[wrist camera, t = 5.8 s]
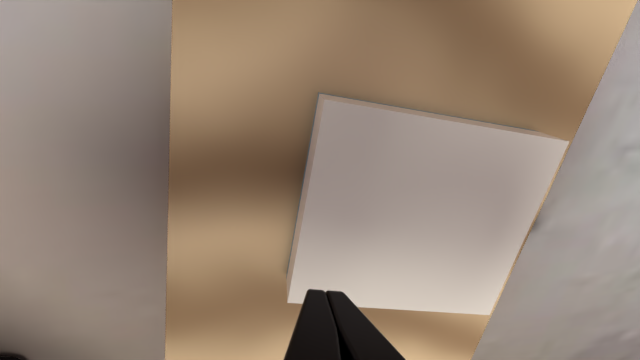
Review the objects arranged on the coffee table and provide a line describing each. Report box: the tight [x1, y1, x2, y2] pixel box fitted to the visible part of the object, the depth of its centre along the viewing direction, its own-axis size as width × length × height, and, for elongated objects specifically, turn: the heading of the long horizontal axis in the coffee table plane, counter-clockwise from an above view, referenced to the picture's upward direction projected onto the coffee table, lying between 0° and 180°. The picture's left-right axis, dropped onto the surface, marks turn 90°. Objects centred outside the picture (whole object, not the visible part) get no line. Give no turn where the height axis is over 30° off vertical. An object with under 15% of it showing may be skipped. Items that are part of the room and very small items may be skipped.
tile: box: [286, 92, 569, 315], centre depth 13 cm, size 8×2×9 cm
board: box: [165, 0, 638, 360], centre depth 14 cm, size 20×16×1 cm
